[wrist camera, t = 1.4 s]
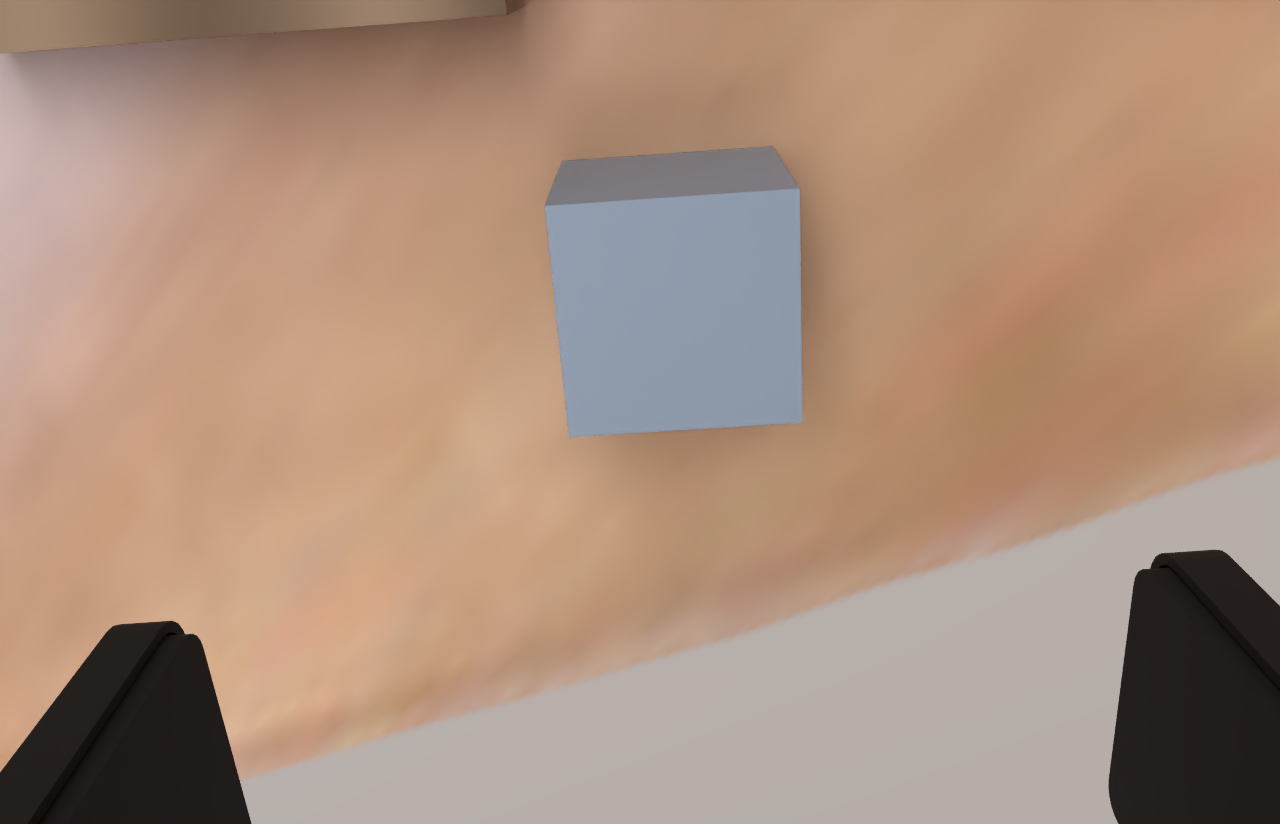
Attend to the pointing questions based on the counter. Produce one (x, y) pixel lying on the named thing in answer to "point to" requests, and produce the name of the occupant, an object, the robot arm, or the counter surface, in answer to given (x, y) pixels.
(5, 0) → the walnut block
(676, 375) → the slate cube
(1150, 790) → the robot arm
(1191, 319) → the counter surface
